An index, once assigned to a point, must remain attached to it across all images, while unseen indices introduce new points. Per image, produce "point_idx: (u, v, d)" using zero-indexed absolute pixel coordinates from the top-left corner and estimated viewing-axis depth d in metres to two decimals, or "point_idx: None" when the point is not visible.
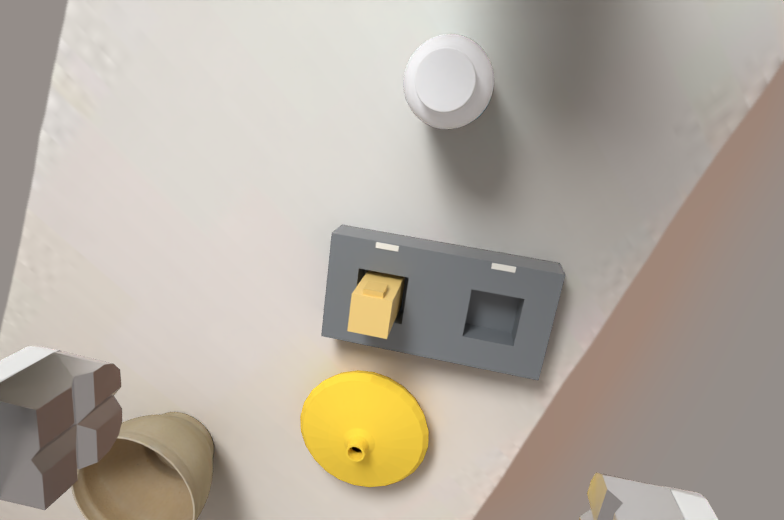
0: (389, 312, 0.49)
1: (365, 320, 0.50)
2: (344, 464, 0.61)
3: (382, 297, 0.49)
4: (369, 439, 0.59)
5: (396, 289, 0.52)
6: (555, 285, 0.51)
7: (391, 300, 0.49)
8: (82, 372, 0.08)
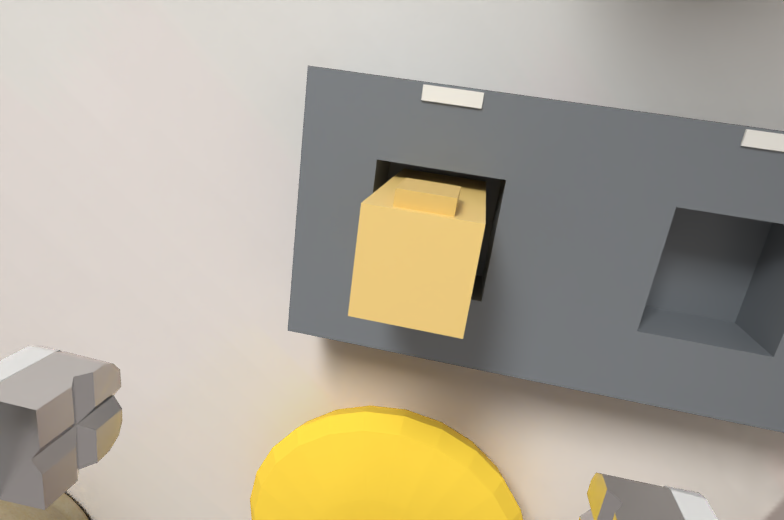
0: (474, 259, 0.16)
1: (400, 285, 0.17)
2: None
3: (453, 214, 0.16)
4: None
5: (481, 203, 0.19)
6: None
7: (481, 222, 0.16)
8: (82, 372, 0.08)
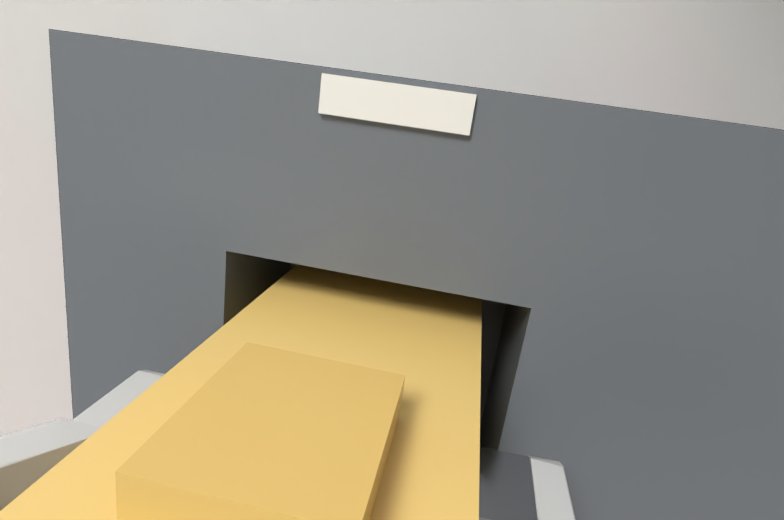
0: None
1: None
2: None
3: None
4: None
5: (468, 407, 0.07)
6: None
7: None
8: None
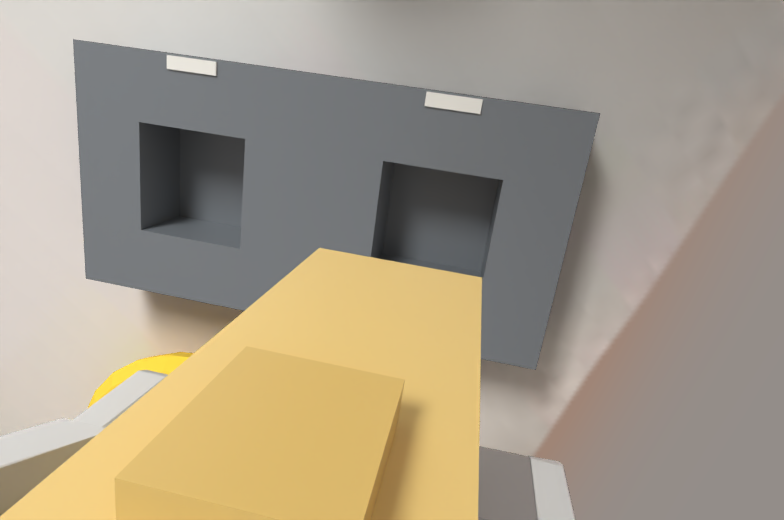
0: None
1: None
2: None
3: None
4: None
5: (468, 411, 0.07)
6: (575, 142, 0.22)
7: None
8: None
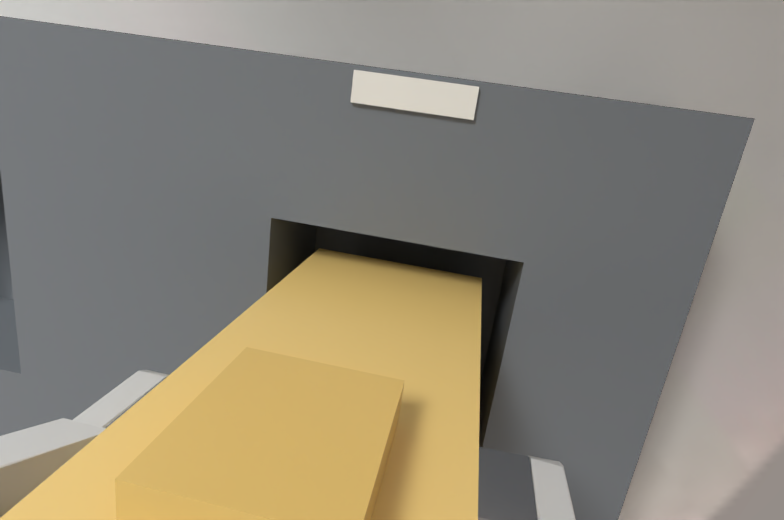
0: None
1: None
2: None
3: None
4: None
5: (467, 412, 0.07)
6: (690, 186, 0.09)
7: None
8: None
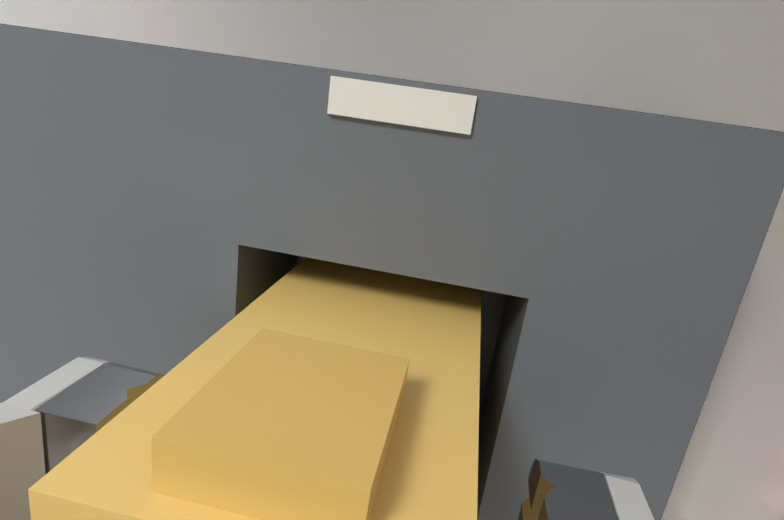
0: None
1: None
2: None
3: None
4: None
5: (468, 390, 0.07)
6: (725, 212, 0.08)
7: None
8: (136, 385, 0.08)
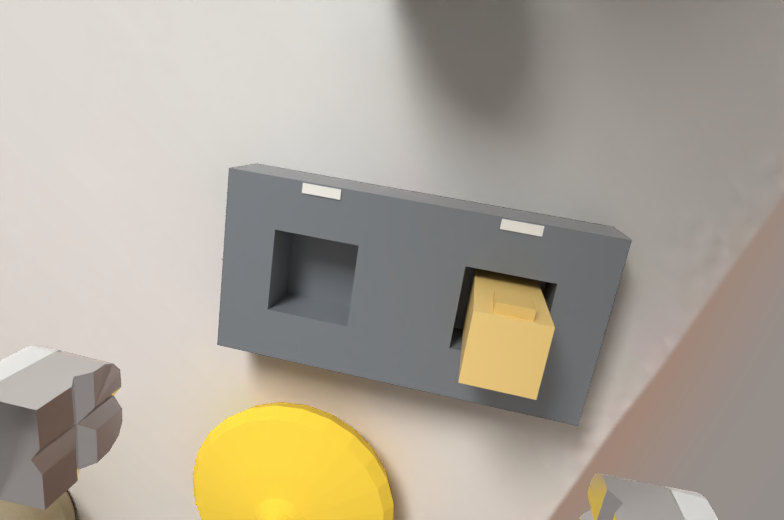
0: (546, 349, 0.25)
1: (495, 364, 0.26)
2: None
3: (532, 319, 0.25)
4: (295, 517, 0.36)
5: (544, 305, 0.28)
6: (612, 260, 0.29)
7: (551, 325, 0.25)
8: (83, 373, 0.08)
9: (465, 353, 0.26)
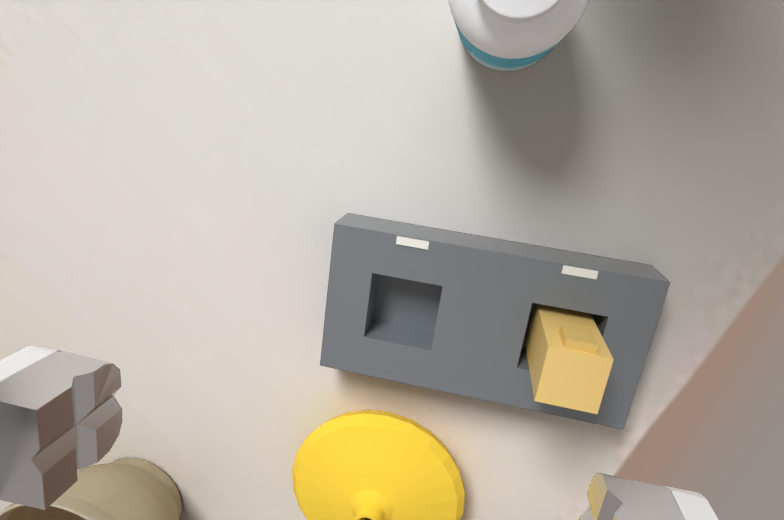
0: (606, 375, 0.32)
1: (565, 387, 0.33)
2: None
3: (595, 352, 0.32)
4: (385, 504, 0.43)
5: (600, 336, 0.35)
6: (654, 297, 0.36)
7: (610, 357, 0.32)
8: (82, 372, 0.08)
9: (541, 378, 0.33)
